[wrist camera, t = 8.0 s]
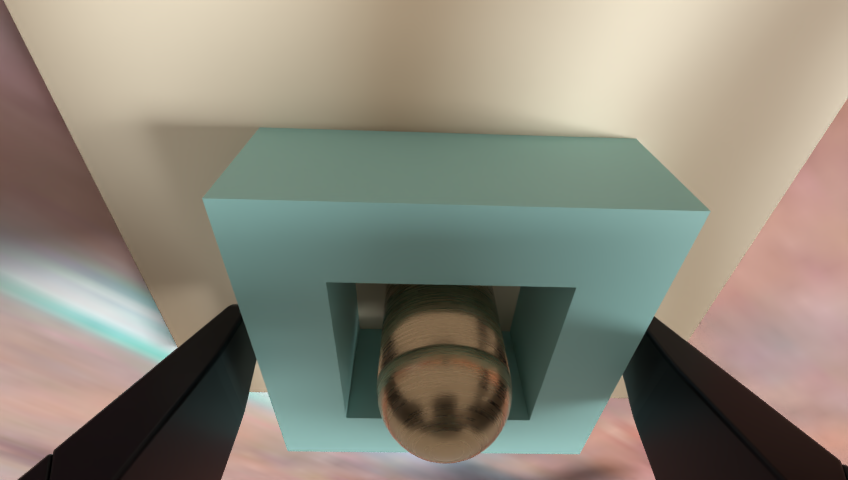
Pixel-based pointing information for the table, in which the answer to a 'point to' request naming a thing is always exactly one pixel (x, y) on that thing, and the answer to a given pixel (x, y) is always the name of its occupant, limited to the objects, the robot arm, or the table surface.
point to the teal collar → (447, 265)
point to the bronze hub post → (443, 370)
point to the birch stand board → (435, 106)
